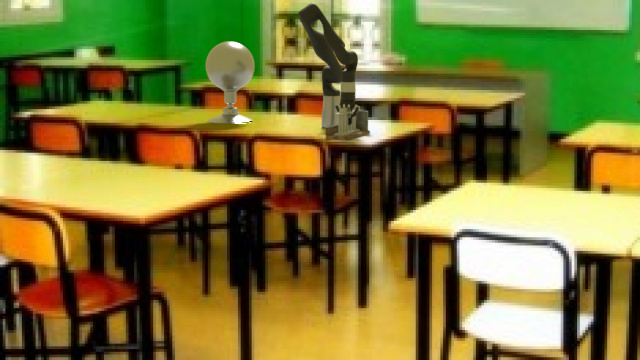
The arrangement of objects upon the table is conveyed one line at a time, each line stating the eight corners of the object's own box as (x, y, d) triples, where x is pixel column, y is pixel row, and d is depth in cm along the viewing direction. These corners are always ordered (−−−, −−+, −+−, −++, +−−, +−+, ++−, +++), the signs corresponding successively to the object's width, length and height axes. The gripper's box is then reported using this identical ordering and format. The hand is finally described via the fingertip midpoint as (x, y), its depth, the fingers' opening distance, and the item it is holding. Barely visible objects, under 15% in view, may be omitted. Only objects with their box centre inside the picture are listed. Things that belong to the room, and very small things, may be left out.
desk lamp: (203, 123, 564) (202, 42, 557) (209, 117, 592) (208, 40, 584) (252, 123, 564) (252, 42, 556) (256, 118, 591) (256, 40, 583)
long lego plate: (351, 130, 525) (352, 104, 522) (359, 130, 523) (360, 105, 521) (333, 135, 502) (334, 109, 500) (342, 136, 500) (342, 109, 498)
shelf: (325, 138, 501) (325, 115, 499) (348, 132, 529) (348, 110, 527) (348, 140, 496) (348, 116, 494) (369, 133, 524) (370, 111, 523)
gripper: (332, 90, 508) (332, 125, 511) (358, 91, 503) (357, 126, 506) (338, 89, 515) (337, 123, 518) (363, 90, 510) (362, 125, 513)
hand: (347, 124), depth 512 cm, fingers closed on long lego plate
